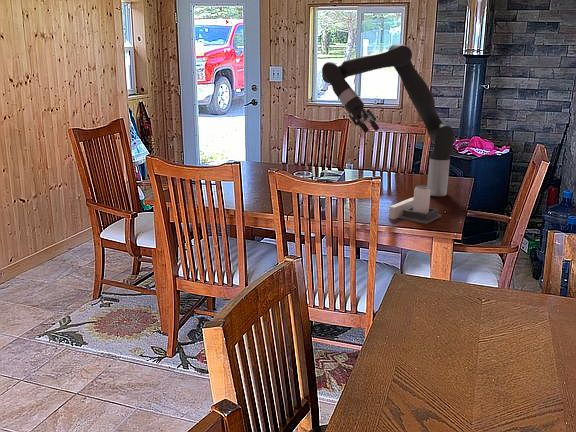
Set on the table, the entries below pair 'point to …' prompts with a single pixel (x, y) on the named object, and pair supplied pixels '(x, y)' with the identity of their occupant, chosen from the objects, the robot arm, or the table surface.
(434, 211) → the keeper
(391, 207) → the door edge
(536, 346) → the table surface
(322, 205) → the drinking glass
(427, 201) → the can
